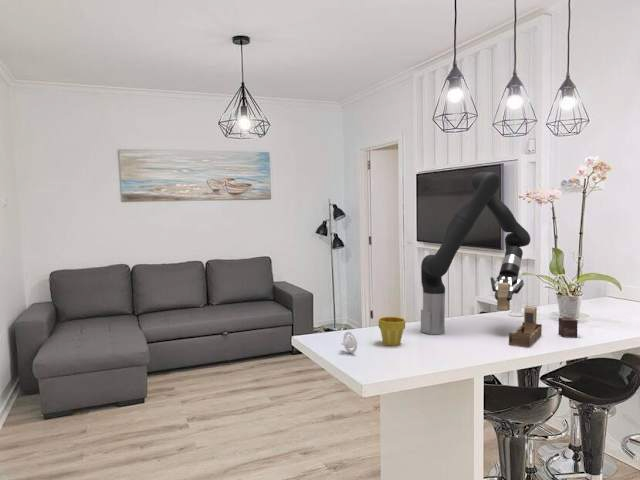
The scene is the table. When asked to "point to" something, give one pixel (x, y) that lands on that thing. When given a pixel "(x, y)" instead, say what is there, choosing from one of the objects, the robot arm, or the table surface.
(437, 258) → the robot arm
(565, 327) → the box
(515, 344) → the rail
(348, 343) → the ring around a ball
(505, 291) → the block
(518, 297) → the candle
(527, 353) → the table surface
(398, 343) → the plant pot
